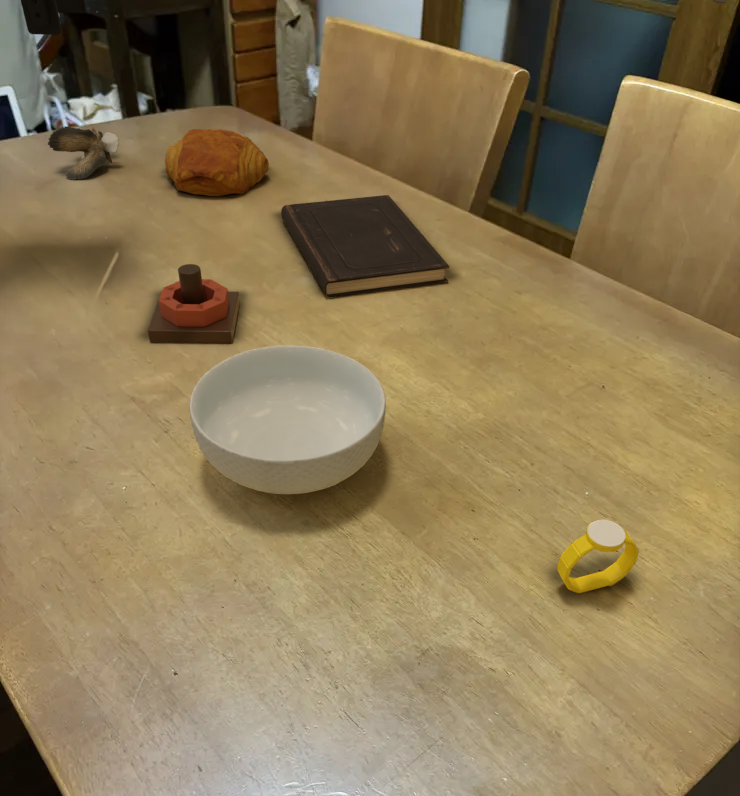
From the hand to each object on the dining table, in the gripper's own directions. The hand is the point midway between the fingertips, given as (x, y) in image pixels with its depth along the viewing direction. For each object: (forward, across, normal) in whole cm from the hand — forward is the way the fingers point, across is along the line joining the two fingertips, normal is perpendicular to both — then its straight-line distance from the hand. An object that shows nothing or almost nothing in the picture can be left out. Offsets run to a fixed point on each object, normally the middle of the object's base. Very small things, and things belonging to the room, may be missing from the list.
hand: (59, 22), depth 78 cm
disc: (+25, +15, +13) cm, 32 cm away
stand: (+26, +15, +13) cm, 33 cm away
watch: (+26, +54, +49) cm, 78 cm away
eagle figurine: (+26, -31, -10) cm, 42 cm away
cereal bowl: (+26, +39, +25) cm, 53 cm away
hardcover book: (+26, -4, +32) cm, 42 cm away
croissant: (+26, -27, +10) cm, 39 cm away
